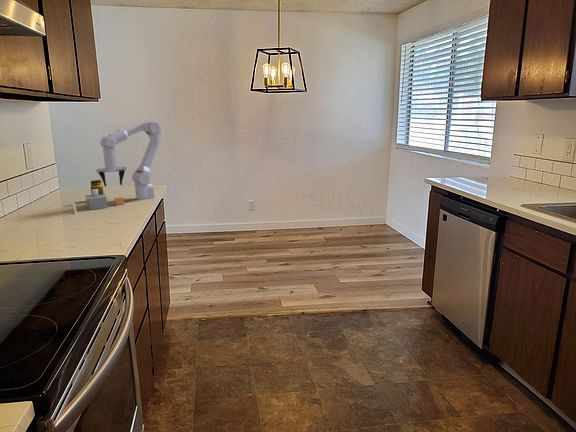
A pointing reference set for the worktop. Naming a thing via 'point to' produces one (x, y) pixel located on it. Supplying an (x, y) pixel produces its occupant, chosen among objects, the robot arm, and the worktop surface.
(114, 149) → the robot arm
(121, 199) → the block
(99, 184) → the condiment
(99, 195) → the cover
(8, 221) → the worktop surface
